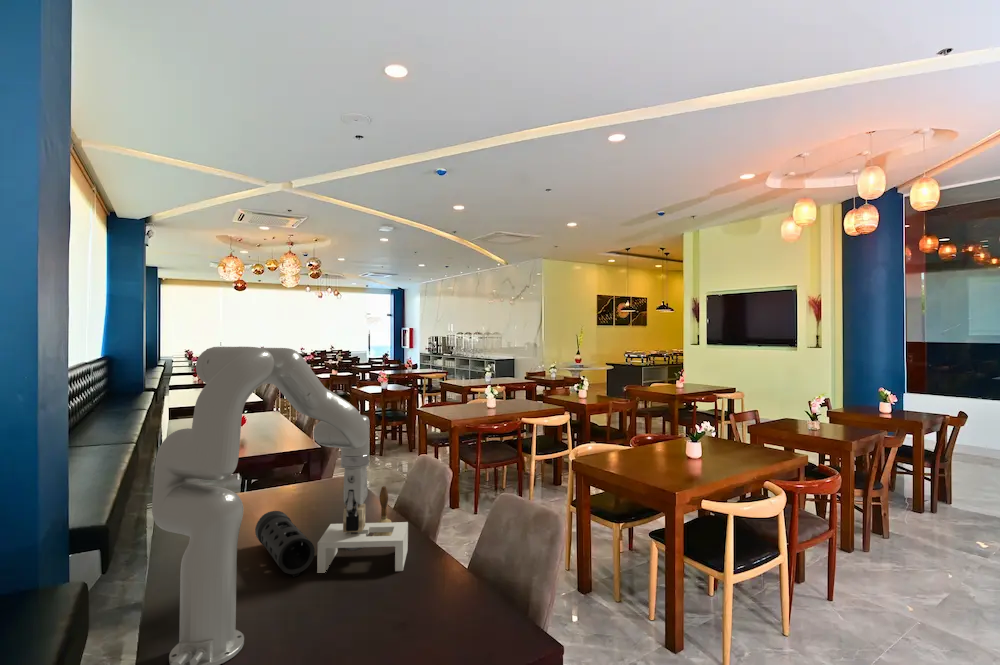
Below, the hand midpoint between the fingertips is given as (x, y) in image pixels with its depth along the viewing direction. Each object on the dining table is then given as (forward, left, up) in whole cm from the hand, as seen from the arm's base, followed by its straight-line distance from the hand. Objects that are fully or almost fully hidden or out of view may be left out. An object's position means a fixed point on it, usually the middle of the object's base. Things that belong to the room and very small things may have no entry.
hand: (354, 526), depth 141 cm
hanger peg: (0, 0, -6) cm, 6 cm away
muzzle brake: (+3, +20, -10) cm, 23 cm away
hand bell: (+16, -6, -10) cm, 20 cm away
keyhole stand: (0, -3, -10) cm, 10 cm away
